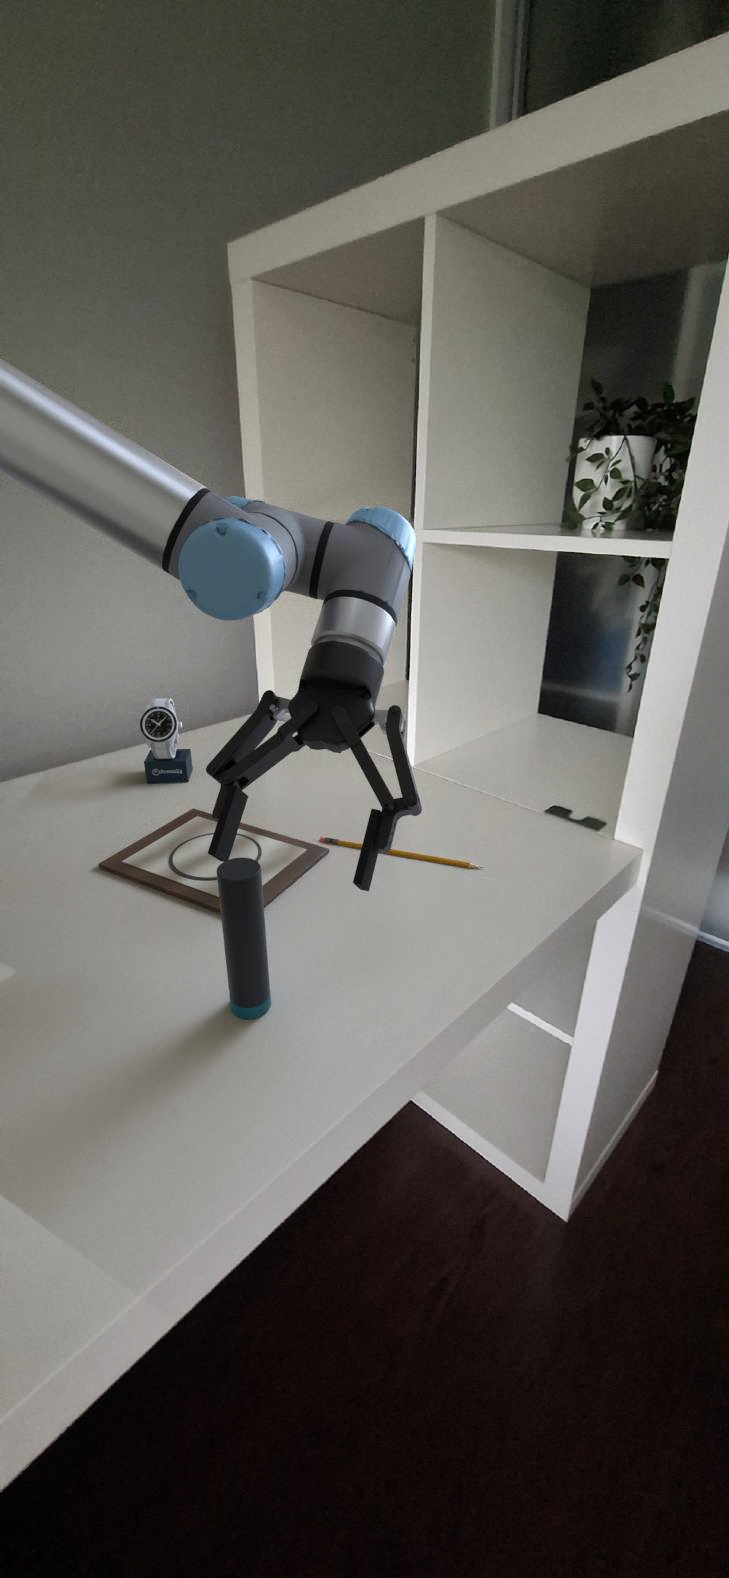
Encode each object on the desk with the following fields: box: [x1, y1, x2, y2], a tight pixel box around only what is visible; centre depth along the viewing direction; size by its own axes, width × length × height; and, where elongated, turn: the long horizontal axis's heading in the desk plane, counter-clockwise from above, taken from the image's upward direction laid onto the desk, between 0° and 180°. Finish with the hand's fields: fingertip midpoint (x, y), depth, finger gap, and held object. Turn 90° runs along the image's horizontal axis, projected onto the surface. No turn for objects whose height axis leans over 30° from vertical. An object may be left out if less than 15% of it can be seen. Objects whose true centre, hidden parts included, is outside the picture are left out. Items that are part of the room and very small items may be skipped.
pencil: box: [319, 836, 484, 869], centre depth 77 cm, size 19×1×1 cm, turn 71°
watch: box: [139, 697, 194, 784], centre depth 93 cm, size 6×8×11 cm
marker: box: [217, 858, 272, 1020], centre depth 53 cm, size 3×3×13 cm
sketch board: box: [97, 808, 330, 914], centre depth 76 cm, size 20×15×1 cm
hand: (286, 872), depth 59 cm, fingers open, 13 cm apart
